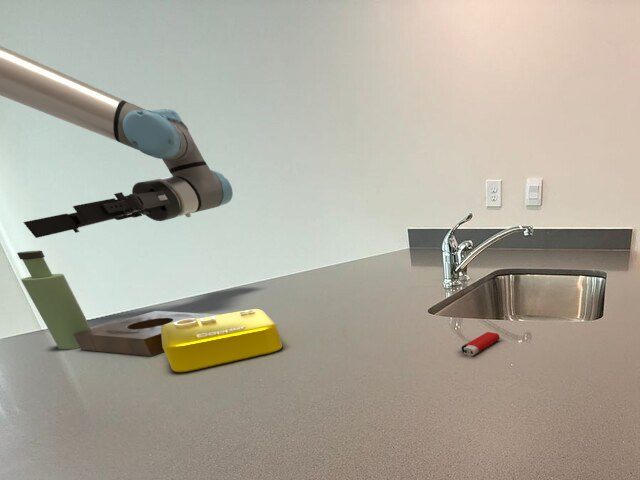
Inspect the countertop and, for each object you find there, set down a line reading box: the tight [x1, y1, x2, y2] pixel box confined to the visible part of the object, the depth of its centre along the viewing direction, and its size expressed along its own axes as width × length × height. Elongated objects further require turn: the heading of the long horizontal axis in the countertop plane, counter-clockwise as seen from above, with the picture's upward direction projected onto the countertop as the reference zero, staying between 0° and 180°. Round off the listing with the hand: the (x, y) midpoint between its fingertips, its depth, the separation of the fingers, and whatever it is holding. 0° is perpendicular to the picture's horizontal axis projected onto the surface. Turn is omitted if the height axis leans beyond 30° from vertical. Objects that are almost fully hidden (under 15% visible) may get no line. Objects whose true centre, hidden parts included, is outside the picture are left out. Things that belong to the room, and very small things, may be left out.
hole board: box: [73, 310, 220, 357], centre depth 74 cm, size 16×14×3 cm
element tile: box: [161, 308, 283, 373], centre depth 67 cm, size 15×15×5 cm
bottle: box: [16, 250, 92, 350], centre depth 69 cm, size 5×5×16 cm
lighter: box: [461, 331, 500, 357], centre depth 66 cm, size 3×1×8 cm
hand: (54, 222), depth 70 cm, fingers open, 13 cm apart
